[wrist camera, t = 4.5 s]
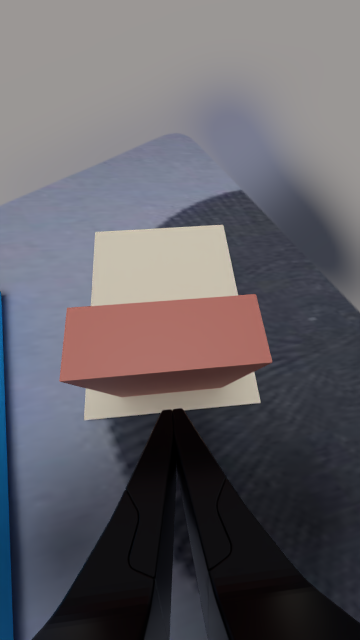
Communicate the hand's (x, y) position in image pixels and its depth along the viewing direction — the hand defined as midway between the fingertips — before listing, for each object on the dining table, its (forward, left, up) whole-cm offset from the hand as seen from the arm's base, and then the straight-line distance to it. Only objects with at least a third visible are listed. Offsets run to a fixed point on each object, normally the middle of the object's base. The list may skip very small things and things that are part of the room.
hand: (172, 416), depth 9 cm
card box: (+3, 0, -6) cm, 7 cm away
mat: (+8, -1, -7) cm, 11 cm away
